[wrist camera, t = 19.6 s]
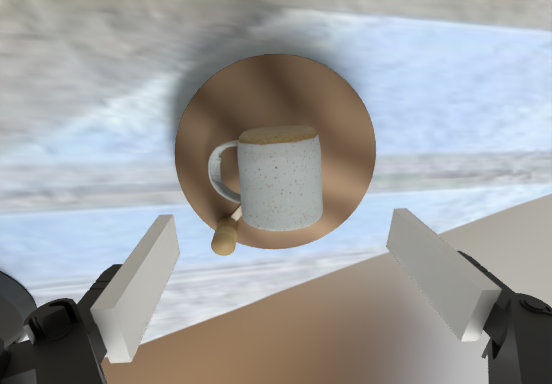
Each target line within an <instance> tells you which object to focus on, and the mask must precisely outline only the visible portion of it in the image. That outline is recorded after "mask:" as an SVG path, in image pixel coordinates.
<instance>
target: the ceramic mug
mask: <svg viewBox="0 0 552 384" xmlns="http://www.w3.org/2000/svg"><path fill="white" fill-rule="evenodd" d="M232 146H233V147H235V146H237V147H238V150H237V156H238V167H239V176H240V194H238V193H235V192H234V191H232V190H230V189H229V188H228V187H226V185H225V184H224V183H223V181H222V179H221V174H220V162H221V156H220V155H221V153H222V151H223V150H225V149H226V148H227V147H232ZM208 174H209V179H210V182H211V184H212V186H213V187H214V189H215V190H216V191H217V192H218V193H219V194H220V195H222V196H223V197H225V198H226V199H228V200H231V201H233V202H236V203H240V204H241V212H242V217H243V220H244V221H245V222H246V223H247V224H249V225H251V226H252V227H255V228H258V229H263V230H269V231H291V230H296V229H301V228H304V227H307V226H310V225H312V224H314V223H315V222H316V221H318V220H319V219H320V217H321V216H322V213H323V201H322V175H321V148H320V142H319V137H318V134H317V132H316V130H315V129H314V128H312V127H310V126H304V125H286V126H271V127H261V128H254V129H250V130H246V131H244V132H243V133H242V134H241V135H240V137H239V140H234V141H230V142H227V143H224V144H222V145H220V146H218V147H217V148H215V150H214V151H213V152H212V154H211V155H210V157H209V161H208Z"/></svg>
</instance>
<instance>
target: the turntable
mask: <svg viewBox="0 0 552 384" xmlns="http://www.w3.org/2000/svg"><path fill="white" fill-rule="evenodd" d="M286 125H304V126H310V127H312V128H314V129H315V130H316V132H317V134H318V137H319V142H320V148H321V175H322V201H323V213H322V216H321V217H320V219H319V220H318V221H316V222H315V223H314V224H312V225H310V226H307V227H304V228H301V229H296V230H291V231H269V230H263V229H258V228H255V227H252V226H251V225H249V224H247V223H246V222H245V221H244V220H243V217H242V212H241V204H240V203H236V202H233V201H231V200H228V199H226V198H225V197H223V196H222V195H220V194H219V193H218V192H217V191H216V190H215V189H214V187H213V186H212V184H211V182H210V179H209V174H208V161H209V157H210V155H211V154H212V152H213V151H214V150H215V148H217V147H218V146H220V145H222V144H224V143H227V142H230V141H234V140H239V137H240V135H241V134H242V133H243V132H244V131H246V130H250V129H254V128H261V127H271V126H286ZM237 150H238V147H237V146H235V147H233V146H232V147H227V148H226V149H225V150H223V151H222V153H221V155H220V156H221V162H220V174H221V179H222V181H223V183H224V184H225V185H226V187H228V188H229V189H230V190H232V191H234V192H235V193H238V194H240V176H239V167H238V156H237ZM375 158H376V141H375V134H374V129H373V125H372V122H371V118H370V116H369V114H368V111H367V109H366V107H365V105H364V103H363V102H362V100H361V99H360V97H359V95H358V94H357V93H356V91H355V90H354V89H353V88H352V87H351V86H350V84H349V83H348V82H347V81H345V80H344V79H343V78H342V77H341V76H340V75H338V74H337V73H336V72H334V71H333V70H331V69H329V68H328V67H326V66H325V65H322V64H320V63H318V62H315V61H313V60H311V59H307V58H303V57H300V56H295V55H286V54H265V55H260V56H255V57H250V58H247V59H244V60H241V61H238V62H236V63H234V64H232V65H230V66H228V67H226V68H224V69H222V70H221V71H219V72H218V73H217V74H215V75H214V76H212V77H211V78H210V79H209V80H208V81H207V82H206V83H205V84H204V85H203V86H202V87H201V88H200V89H199V90H198V91H197V93H196V94H195V95H194V96H193V98H192V99H191V100H190V102H189V104H188V106H187V108H186V109H185V111H184V113H183V116H182V119H181V121H180V124H179V127H178V131H177V136H176V143H175V164H176V170H177V175H178V179H179V182H180V185H181V188H182V190H183V192H184V194H185V196H186V198H187V200H188V202H189V203H190V205H191V206H192V208H193V209H194V211H195V212H196V213H197V214H198V215H199V217H200V218H201V219H202V220H203V221H204V222H205V223H206V224H208V225H209V226H210V227H211V228H212V229H214V230H215V233H214V237H213V240H212V243H211V247H212V250H213V251H214V252H215V253H216V254H218V255H222V256H226V255H229V254H231V253H232V252H233V251H234V250H235V245H236V242H238V243H240V244H243V245H247V246H251V247H256V248H262V249H285V248H291V247H297V246H301V245H304V244H308V243H310V242H313V241H315V240H317V239H319V238H321V237H323V236H325V235H327V234H329V233H330V232H331V231H333V230H334V229H336V228H337V227H338V226H340V225H341V224H342V223H343V222H344V221H345V220H346V219H347V218H348V217H349V216H350V215H351V214H352V213H353V212H354V211H355V209H356V208H357V206H358V205H359V203H360V202H361V201H362V199H363V197H364V195H365V193H366V191H367V189H368V187H369V184H370V181H371V179H372V175H373V171H374V166H375Z"/></svg>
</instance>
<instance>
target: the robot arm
mask: <svg viewBox="0 0 552 384" xmlns="http://www.w3.org/2000/svg"><path fill="white" fill-rule="evenodd" d="M386 247H387V248H388V250H389V251H390V252H391V253H392V254H393V256H394V257H395V258H396V260H397V261H398V262H399V264H400V265H401V266H402V267H403V269H404V270H405V271H406V272H407V274H408V275H409V276H410V277H411V279H412V280H413V281H414V282H415V284H416V285H417V287H418V288H419V289H420V290H421V291H422V293H423V294H424V295H425V297H426V298H427V299H428V300H429V302H430V303H431V304H432V306H433V307H434V308H435V309H436V311H437V312H438V313H439V315H440V316H441V317H442V318H443V320H444V321H445V322H446V323H447V325H448V326H449V327H450V329H451V330H452V331H453V332H454V334H455V335H456V336H457V337H458V339H459V340H460V341H461V342H462V341H477V340H479V338H480V336H481V334H482V331H483V330H484V331H485V332H486V333H487V334H488V335H489V336H490V337H491V338H490V340H489V342H488V344H487V346H486V348H485V350H484V352H483V355H482V358H486V356H487V355H488V370H489V371H488V374H489V384H552V308H551V307H550V306H549V305H548V304H546V303H544V302H543V301H541V300H539V299H537V298H535V297H532V296H530V295H526V294H521V293H515V292H514V291H512V290H511V289H510V288H509V287H507V286H506V285H505V284H503V283H502V282H501V281H500V280H499V279H498V278H496V277H495V276H494V275H493V274H491V273H490V272H488V271H487V269H485V268H484V267H483V266H480V264H479V263H478V262H477V261H476V260H474V259H473V258H472V257H470V256H468V255H467V254H465V253H463V252H461V251H456V250H455V249H454V248H452V247H451V246H450V245H449V244H448V243H446V242H445V241H444V240H443V239H442V238H441V237H439V236H438V235H437V234H436V233H435V232H434V231H432V230H431V229H430V228H429V227H428V226H427V225H425V224H424V223H423V222H422V221H421V220H419V219H418V218H417V217H416V216H415V215H414V214H412V213H411V212H410V211H409V210H408V209H406V208H404V209H394V212H393V217H392V221H391V226H390V231H389V236H388V240H387V245H386ZM179 255H180V251H179V245H178V240H177V234H176V228H175V222H174V216H173V215H159V216H158V218H157V219H156V220H155V222H154V223H153V224H152V226H151V227H150V228H149V230H148V231H147V233H146V234H145V235H144V237H143V238H142V239H141V241H140V242H139V243H138V245H137V246H136V247H135V249H134V250H133V252H132V253H131V254H130V256H129V257H128V258H127V260H126V261H125V262H124V264H115V265H112V266H111V267H110V268H108V269H107V270H105V271H104V272H103V273H102V274H101V275H100V277H99V278H98V279H97V280H96V283H94V284H93V285H92V286H91V288H90V290H88V291H87V293H86V294H85V295H84V296H83V297H82V299H81V300H80V301H79V302H78V304H77V305H76V303H75V302H74V300H73V299H68V298H63V299H57V300H54V301H51V302H48V303H46V304H44V305H42V306H40V307H38V308H36V305H35V303H34V301H33V299H32V298H31V296H30V295H29V294H28V293H27V291H26V290H25V289H24V288H23V287H21V286H20V285H19V284H18V283H17V282H15V281H14V280H12V279H11V278H9V277H8V276H6V275H4V274H2V273H0V384H107V381H106V378H105V375H104V372H103V369H102V367H101V362H102V360H103V359H104V357H105V355H106V353H107V355H108V358H109V360H110V363H121V362H132V360H133V357H134V355H135V353H136V351H137V348H138V346H139V344H140V342H141V340H142V337H143V335H144V333H145V331H146V328H147V326H148V324H149V322H150V320H151V317H152V315H153V313H154V311H155V308H156V306H157V304H158V302H159V300H160V297H161V295H162V293H163V291H164V288H165V286H166V284H167V282H168V280H169V277H170V275H171V273H172V271H173V268H174V266H175V264H176V262H177V260H178V257H179ZM27 335H28V337H29V339H30V340H27V341H23V342H21V341H22V340H23V339H24V338H25V337H26V336H27Z"/></svg>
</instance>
